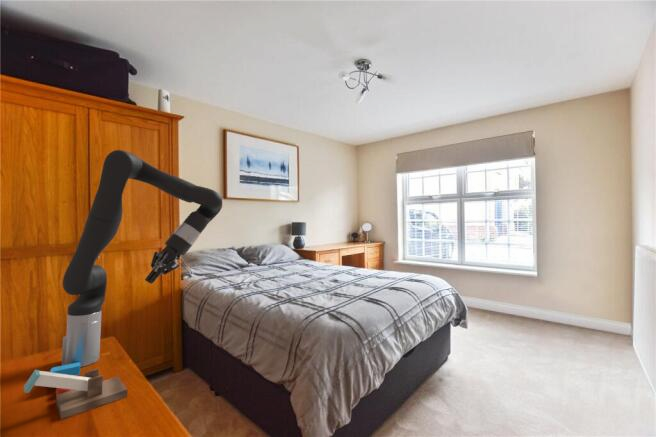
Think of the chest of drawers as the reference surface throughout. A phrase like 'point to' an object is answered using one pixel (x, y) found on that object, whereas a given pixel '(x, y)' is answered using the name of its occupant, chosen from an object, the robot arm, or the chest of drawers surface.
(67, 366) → the lever
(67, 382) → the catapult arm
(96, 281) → the robot arm
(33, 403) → the chest of drawers surface
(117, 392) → the catapult stand
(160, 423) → the chest of drawers surface
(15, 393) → the chest of drawers surface
